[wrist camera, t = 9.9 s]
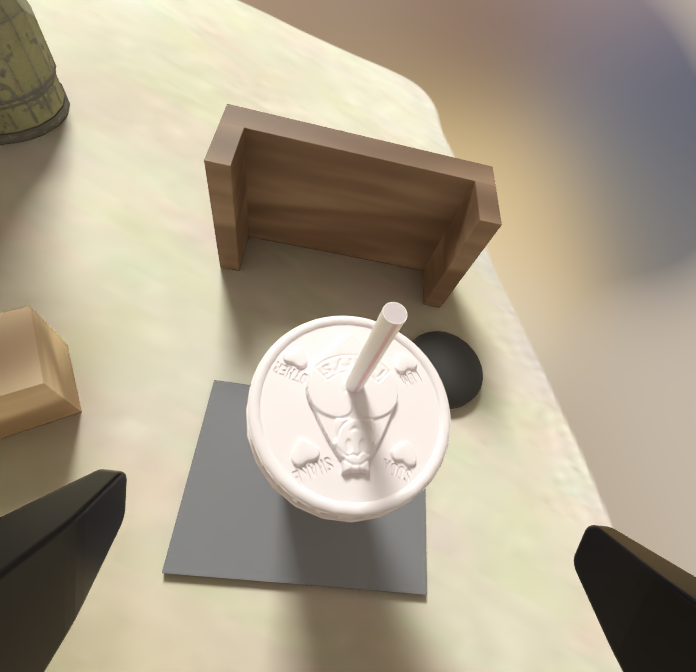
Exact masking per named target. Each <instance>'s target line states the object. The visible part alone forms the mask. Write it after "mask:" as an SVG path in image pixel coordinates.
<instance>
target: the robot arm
mask: <svg viewBox="0 0 696 672" xmlns="http://www.w3.org/2000/svg"><path fill="white" fill-rule="evenodd" d="M126 482H127V479H126V474H125V473H124V472H122V471H114V470H105V469H101V470H97V471H95V472H93V473H91V474H89V475H87V476H85V477H83V478H80V479H78V480H76V481H74V482H72V483H70V484H68V485H66V486H64V487H62V488H60V489H58V490H56V491H54V492H52V493H50V494H48V495H46V496H44V497H41V498H39V499H37V500H35V501H33V502H31V503H29V504H27V505H25V506H23V507H21V508H19V509H17V510H15V511H13V512H11V513H9V514H7V515H5V516H2V517H0V672H44V671H45V670H46V668H47V666H48V665H49V663H50V661H51V660H52V658H53V656H54V655H55V653H56V651H57V650H58V648H59V646H60V645H61V643H62V641H63V640H64V638H65V636H66V635H67V633H68V631H69V629H70V628H71V626H72V624H73V622H74V621H75V619H76V617H77V615H78V613H79V611H80V609H81V607H82V605H83V603H84V601H85V599H86V597H87V595H88V593H89V591H90V588H91V586H92V584H93V582H94V580H95V578H96V576H97V574H98V572H99V570H100V568H101V566H102V564H103V561H104V559H105V557H106V555H107V553H108V551H109V549H110V547H111V545H112V543H113V541H114V539H115V537H116V535H117V532H118V530H119V528H120V526H121V524H122V521H123V518H124V513H125V501H126ZM574 566H575V570H576V572H577V574H578V577H579V579H580V581H581V583H582V585H583V588H584V590H585V592H586V594H587V596H588V599H589V601H590V603H591V605H592V608H593V610H594V612H595V614H596V616H597V619H598V621H599V623H600V625H601V627H602V630H603V632H604V634H605V636H606V638H607V641H608V643H609V645H610V647H611V649H612V651H613V653H614V655H615V657H616V659H617V661H618V663H619V665H620V667H621V669H622V671H623V672H696V577H694V576H693V575H691V574H689V573H687V572H686V571H684V570H683V569H681V568H679V567H677V566H676V565H674V564H672V563H671V562H669V561H667V560H666V559H664V558H662V557H661V556H659V555H657V554H656V553H654V552H652V551H651V550H649V549H647V548H645V547H644V546H642V545H640V544H639V543H637V542H635V541H634V540H632V539H630V538H628V537H627V536H625V535H623V534H622V533H620V532H618V531H617V530H615V529H613V528H610V527H606V526H597V525H592V526H589V527H588V528H587V529H586V530H585V532H584V535H583V537H582V539H581V542H580V544H579V546H578V549H577V551H576V553H575V556H574Z"/></svg>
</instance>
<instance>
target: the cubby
mask: <svg viewBox="0 0 696 672" xmlns="http://www.w3.org/2000/svg"><path fill="white" fill-rule="evenodd" d="M204 163H205V169H206V176H207V182H208V189H209V195H210V202H211V209H212V215H213V222H214V228H215V235H216V242H217V248H218V255H219V261H220V267H223V268H229V269H234V270H239V269H240V266H241V262H242V259H243V255H244V251H245V248H246V244H247V241H248V237H249V236H250V237H255V238H260V239H265V240H270V241H275V242H281V243H286V244H291V245H296V246H301V247H306V248H311V249H316V250H322V251H327V252H332V253H337V254H342V255H347V256H352V257H357V258H363V259H368V260H373V261H378V262H383V263H388V264H393V265H398V266H404V267H409V268H414V269H419V270H423V296H424V304H425V305H430V306H436V307H441V305H442V304H443V303H444V301H445V300H446V299H447V297H448V296H449V295H450V293H451V292H452V291H453V289H454V288H455V287H456V285H457V284H458V283H459V281H460V280H461V279H462V277H463V276H464V275H465V273H466V272H467V271H468V269H469V268H470V267H471V265H472V264H473V263H474V261H475V260H476V258H477V257H478V256H479V254H480V253H481V252H482V250H483V249H484V248H485V246H486V245H487V244H488V242H489V241H490V240H491V238H492V237H493V236H494V234H495V233H496V232H497V230H498V229H499V228H500V226H501V225H502V224H501V218H500V211H499V205H498V199H497V192H496V186H495V180H494V173H493V167H491V166H487V165H482V164H479V163H474V162H470V161H466V160H461V159H458V158H453V157H449V156H445V155H441V154H436V153H432V152H428V151H424V150H420V149H415V148H411V147H407V146H403V145H399V144H394V143H390V142H386V141H382V140H377V139H373V138H369V137H365V136H361V135H356V134H352V133H348V132H344V131H340V130H335V129H331V128H327V127H323V126H318V125H314V124H310V123H306V122H302V121H297V120H293V119H289V118H285V117H281V116H276V115H272V114H268V113H264V112H259V111H255V110H251V109H247V108H243V107H238V106H234V105H230V104H227V106H226V108H225V111H224V113H223V116H222V118H221V120H220V123H219V125H218V128H217V130H216V133H215V135H214V137H213V140H212V142H211V145H210V147H209V150H208V152H207V154H206V157H205V159H204Z"/></svg>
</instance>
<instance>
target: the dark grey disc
mask: <svg viewBox="0 0 696 672" xmlns="http://www.w3.org/2000/svg"><path fill="white" fill-rule="evenodd" d="M413 343H414V344H415V345H416V346H417V347H418V348H419V349H420V350H421V351H422V352H423V353H424V354H425V355H426V356H427V358H428V359H429V360H430V362H431V363H432V365H433V366H434V368H435V369H436V371H437V373H438V375H439V377H440V379H441V381H442V383H443V386H444V388H445V392H446V395H447V398H448V403H449V409H452V408H457V407H460V406H462V405H464V404H466V403H467V402H469V401H470V400H472V399H473V398H474V397H475V396H476V395H477V393H478V392H479V390H480V388H481V385H482V380H483V373H482V367H481V364H480V361H479V359H478V357H477V355H476V354H475V352H474V351H473V350H472V348H471V347H470V346H469V345H468V344H467V343H465V342H464V341H463V340H461V339H460V338H458V337H456V336H454V335H452V334H449V333H446V332H439V331H434V332H428V333H425V334H422V335H420V336H419V337H417V338H416V339H415V340H414V341H413Z"/></svg>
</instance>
